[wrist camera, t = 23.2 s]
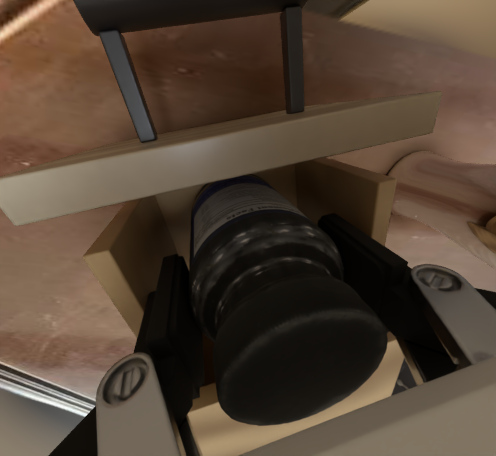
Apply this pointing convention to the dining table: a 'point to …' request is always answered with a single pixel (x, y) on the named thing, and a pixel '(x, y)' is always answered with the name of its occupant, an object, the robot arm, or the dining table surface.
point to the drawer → (210, 156)
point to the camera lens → (275, 306)
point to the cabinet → (252, 436)
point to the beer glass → (449, 199)
